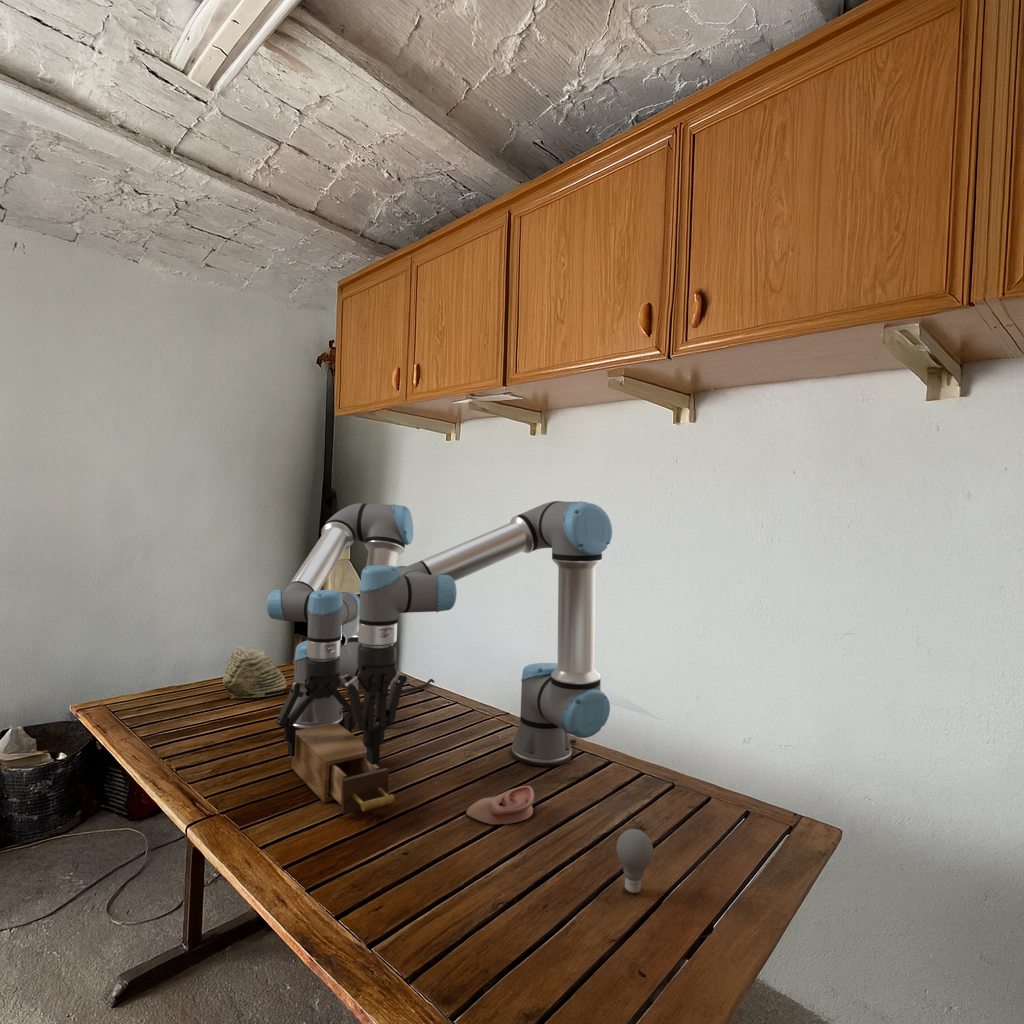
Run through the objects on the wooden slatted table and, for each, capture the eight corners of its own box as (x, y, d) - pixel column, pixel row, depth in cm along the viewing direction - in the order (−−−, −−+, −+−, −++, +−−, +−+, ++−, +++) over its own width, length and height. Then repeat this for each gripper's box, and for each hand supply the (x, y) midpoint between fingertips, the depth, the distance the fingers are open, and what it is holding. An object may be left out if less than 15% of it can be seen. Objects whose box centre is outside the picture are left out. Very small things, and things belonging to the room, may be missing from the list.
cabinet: (372, 790, 138) (374, 750, 138) (323, 802, 131) (325, 761, 131) (336, 757, 154) (337, 722, 154) (291, 767, 147) (292, 731, 147)
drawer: (401, 814, 126) (402, 780, 126) (355, 827, 120) (357, 792, 120) (350, 768, 146) (351, 739, 146) (308, 778, 140) (310, 748, 140)
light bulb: (610, 879, 108) (613, 822, 108) (644, 879, 109) (647, 822, 109) (619, 902, 102) (622, 840, 102) (655, 901, 103) (658, 840, 103)
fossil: (218, 695, 195) (220, 647, 195) (278, 685, 208) (279, 640, 207) (228, 703, 189) (230, 653, 188) (289, 692, 201) (290, 645, 201)
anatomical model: (462, 800, 126) (477, 776, 137) (461, 820, 126) (476, 794, 137) (528, 810, 123) (537, 784, 135) (527, 830, 123) (536, 803, 135)
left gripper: (274, 668, 137) (270, 765, 137) (379, 654, 152) (376, 742, 152) (263, 660, 143) (260, 753, 143) (366, 648, 158) (362, 732, 158)
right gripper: (354, 651, 119) (349, 776, 119) (415, 644, 127) (410, 761, 127) (338, 643, 124) (333, 762, 125) (398, 636, 132) (393, 748, 133)
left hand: (320, 748), depth 148 cm, fingers open, 13 cm apart
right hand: (372, 761), depth 126 cm, fingers closed
